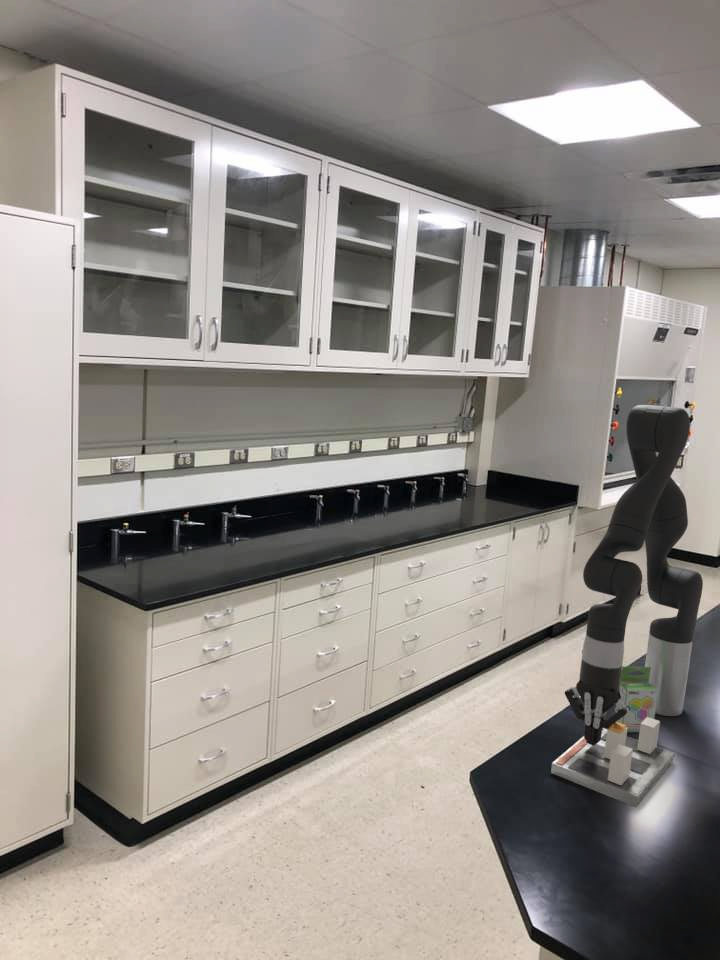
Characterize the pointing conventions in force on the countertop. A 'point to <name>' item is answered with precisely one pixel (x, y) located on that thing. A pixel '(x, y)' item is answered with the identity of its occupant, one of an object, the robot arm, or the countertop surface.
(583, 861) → the countertop surface
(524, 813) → the countertop surface
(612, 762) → the breaker near
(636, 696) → the ink box
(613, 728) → the block
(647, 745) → the block
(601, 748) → the panel
